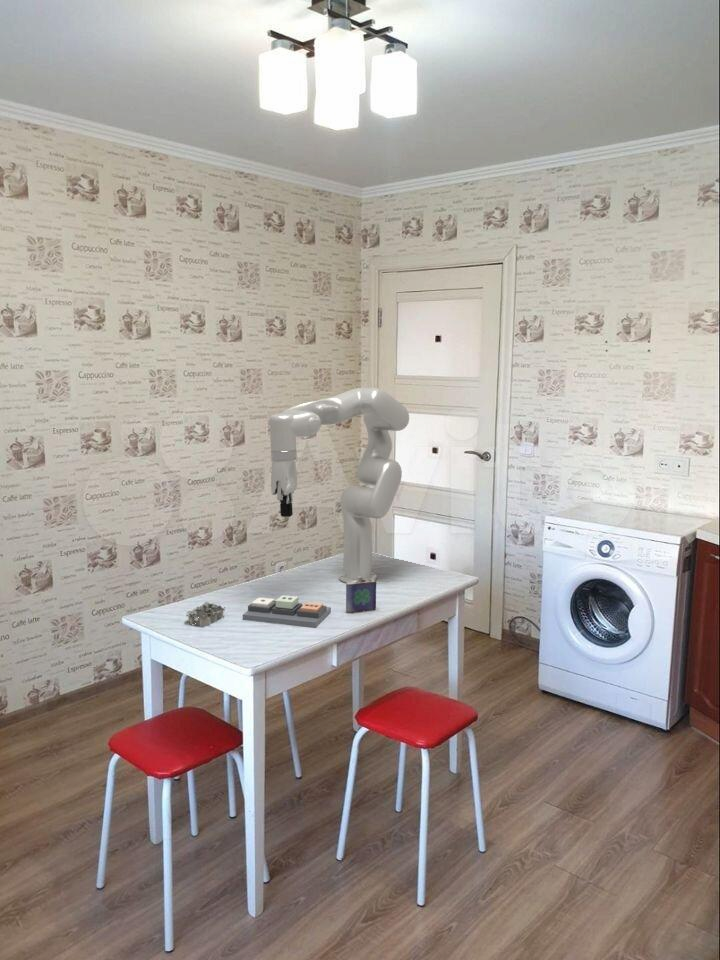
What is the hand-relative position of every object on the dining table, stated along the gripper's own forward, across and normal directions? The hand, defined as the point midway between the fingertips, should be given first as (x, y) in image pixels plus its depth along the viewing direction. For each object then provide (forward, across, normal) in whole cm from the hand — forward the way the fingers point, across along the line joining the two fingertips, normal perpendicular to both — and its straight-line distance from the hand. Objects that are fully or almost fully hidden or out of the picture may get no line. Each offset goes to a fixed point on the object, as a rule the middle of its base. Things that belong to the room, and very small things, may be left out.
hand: (286, 515), depth 227 cm
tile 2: (+23, +14, +4) cm, 27 cm away
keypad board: (+26, +14, +4) cm, 30 cm away
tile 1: (+24, +14, -3) cm, 28 cm away
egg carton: (+26, +23, -17) cm, 39 cm away
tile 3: (+24, +14, +12) cm, 31 cm away
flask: (+27, +4, +24) cm, 36 cm away
